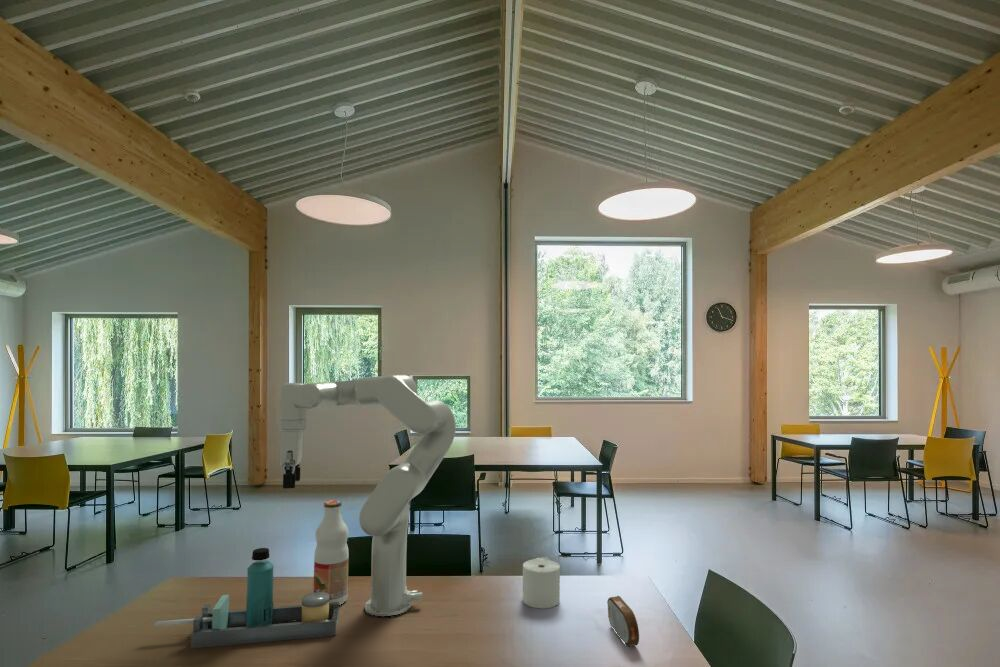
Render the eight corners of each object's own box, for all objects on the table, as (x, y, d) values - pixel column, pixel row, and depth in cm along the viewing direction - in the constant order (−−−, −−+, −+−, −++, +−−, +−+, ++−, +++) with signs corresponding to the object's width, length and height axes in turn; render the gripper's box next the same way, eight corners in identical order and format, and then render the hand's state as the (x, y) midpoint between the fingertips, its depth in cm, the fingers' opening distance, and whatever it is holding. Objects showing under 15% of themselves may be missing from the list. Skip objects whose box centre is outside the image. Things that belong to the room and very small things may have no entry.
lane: (339, 615, 150) (339, 592, 151) (335, 635, 139) (336, 610, 140) (205, 626, 144) (206, 602, 144) (190, 648, 133) (191, 622, 133)
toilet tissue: (528, 610, 154) (528, 573, 155) (517, 593, 166) (517, 558, 166) (565, 607, 157) (565, 570, 157) (551, 590, 168) (551, 556, 169)
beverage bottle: (263, 636, 138) (266, 554, 139) (239, 634, 140) (241, 552, 141) (278, 624, 145) (280, 546, 146) (254, 622, 146) (256, 544, 147)
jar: (331, 620, 148) (331, 591, 148) (326, 632, 141) (326, 602, 141) (304, 621, 147) (304, 592, 147) (298, 634, 140) (298, 603, 140)
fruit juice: (345, 607, 155) (348, 505, 156) (310, 610, 153) (312, 506, 155) (349, 593, 164) (351, 497, 166) (315, 596, 163) (318, 498, 164)
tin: (640, 652, 132) (640, 615, 133) (627, 653, 132) (627, 616, 132) (616, 623, 147) (616, 590, 148) (605, 623, 147) (605, 591, 147)
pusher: (228, 625, 143) (229, 594, 144) (218, 641, 135) (219, 608, 136) (161, 631, 140) (162, 599, 141) (147, 648, 132) (148, 614, 132)
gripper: (284, 422, 172) (283, 478, 171) (274, 428, 155) (272, 491, 154) (310, 421, 173) (309, 477, 172) (302, 428, 156) (301, 490, 155)
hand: (291, 484), depth 163 cm, fingers open, 9 cm apart
